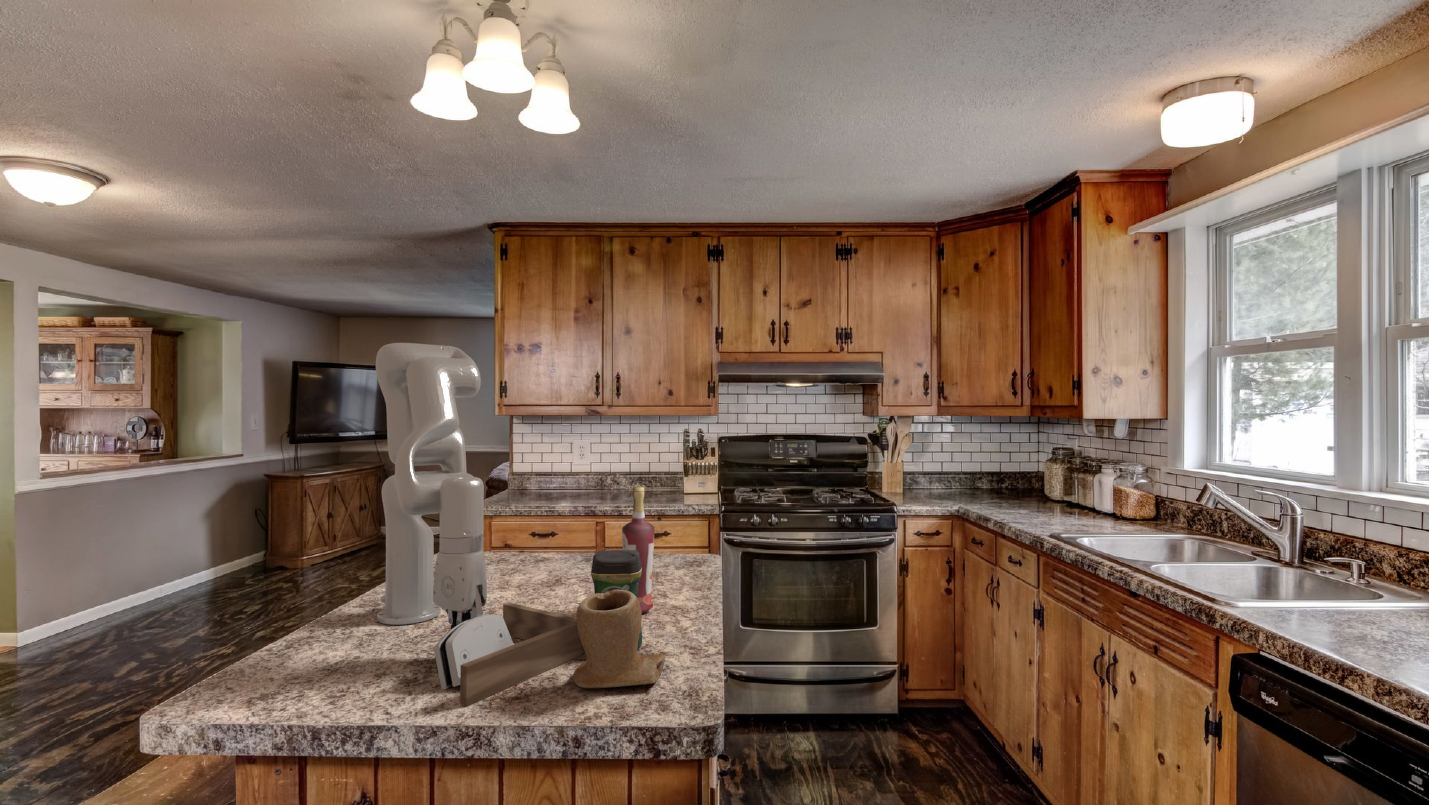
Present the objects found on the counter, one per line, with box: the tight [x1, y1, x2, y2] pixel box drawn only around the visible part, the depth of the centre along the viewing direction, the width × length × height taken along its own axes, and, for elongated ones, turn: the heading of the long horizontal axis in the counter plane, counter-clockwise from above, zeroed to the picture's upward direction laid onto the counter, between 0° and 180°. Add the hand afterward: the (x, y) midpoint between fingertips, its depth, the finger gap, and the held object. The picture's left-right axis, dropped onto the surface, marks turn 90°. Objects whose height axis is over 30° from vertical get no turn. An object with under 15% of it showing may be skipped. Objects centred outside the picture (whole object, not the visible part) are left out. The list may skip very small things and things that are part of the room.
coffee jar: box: [590, 549, 643, 651], centre depth 122 cm, size 10×8×19 cm
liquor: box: [621, 486, 656, 614], centre depth 145 cm, size 7×7×28 cm
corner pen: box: [459, 602, 586, 708], centre depth 114 cm, size 22×26×6 cm
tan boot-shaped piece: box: [572, 590, 666, 689], centre depth 106 cm, size 15×12×15 cm
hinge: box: [433, 614, 515, 690], centre depth 112 cm, size 17×5×10 cm, turn 166°
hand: (460, 645), depth 117 cm, fingers closed
